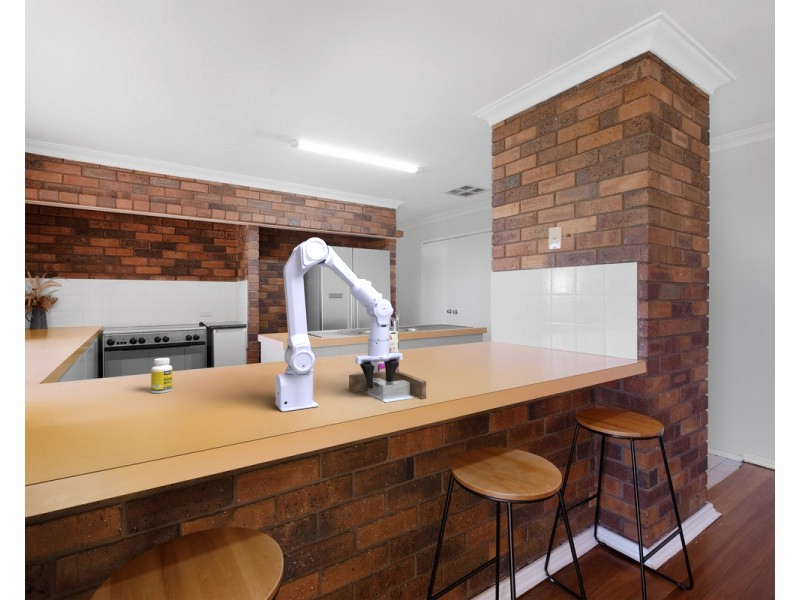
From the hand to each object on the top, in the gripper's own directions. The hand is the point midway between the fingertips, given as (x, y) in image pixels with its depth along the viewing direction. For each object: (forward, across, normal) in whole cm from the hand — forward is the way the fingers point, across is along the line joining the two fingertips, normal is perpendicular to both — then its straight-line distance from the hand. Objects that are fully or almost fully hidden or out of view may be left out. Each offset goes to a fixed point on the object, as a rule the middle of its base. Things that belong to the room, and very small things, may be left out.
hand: (379, 386), depth 112 cm
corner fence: (+3, +1, 0) cm, 3 cm away
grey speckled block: (+2, +3, -1) cm, 4 cm away
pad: (+3, +2, -2) cm, 4 cm away
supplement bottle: (+3, -55, +36) cm, 66 cm away
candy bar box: (+3, +10, +16) cm, 20 cm away
